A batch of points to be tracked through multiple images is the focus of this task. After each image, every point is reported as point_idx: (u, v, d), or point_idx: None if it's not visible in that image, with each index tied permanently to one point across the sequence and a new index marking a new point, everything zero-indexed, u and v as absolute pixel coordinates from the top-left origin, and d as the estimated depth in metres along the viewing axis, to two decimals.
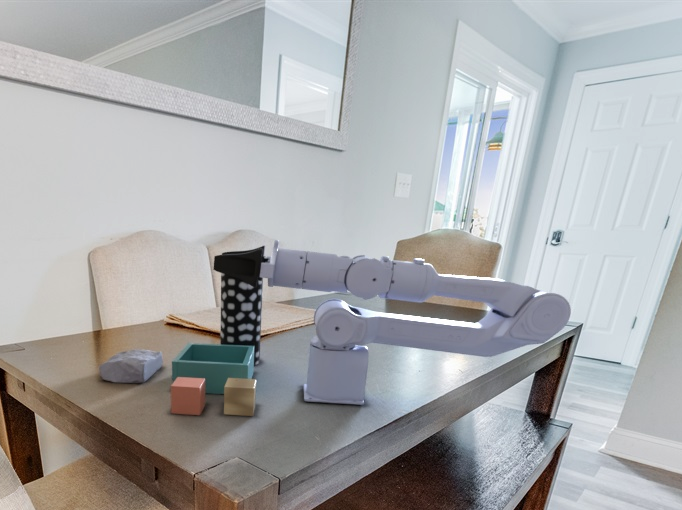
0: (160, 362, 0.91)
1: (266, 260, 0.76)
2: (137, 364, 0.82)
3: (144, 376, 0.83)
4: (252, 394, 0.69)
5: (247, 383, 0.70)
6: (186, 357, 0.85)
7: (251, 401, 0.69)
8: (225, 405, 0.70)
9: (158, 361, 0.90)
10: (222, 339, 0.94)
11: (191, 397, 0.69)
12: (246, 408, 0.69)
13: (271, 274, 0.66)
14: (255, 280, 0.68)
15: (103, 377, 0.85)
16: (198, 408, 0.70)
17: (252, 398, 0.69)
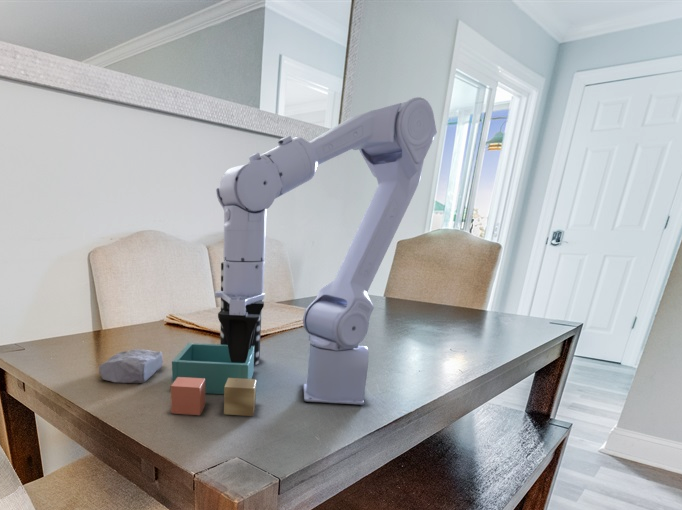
0: (160, 362, 0.91)
1: None
2: (137, 364, 0.82)
3: (144, 376, 0.83)
4: (252, 394, 0.69)
5: (247, 383, 0.70)
6: (186, 357, 0.85)
7: (251, 401, 0.69)
8: (225, 405, 0.70)
9: (158, 361, 0.90)
10: (222, 339, 0.94)
11: (191, 397, 0.69)
12: (246, 408, 0.69)
13: (240, 302, 0.59)
14: (250, 318, 0.61)
15: (103, 377, 0.85)
16: (198, 408, 0.70)
17: (252, 398, 0.69)
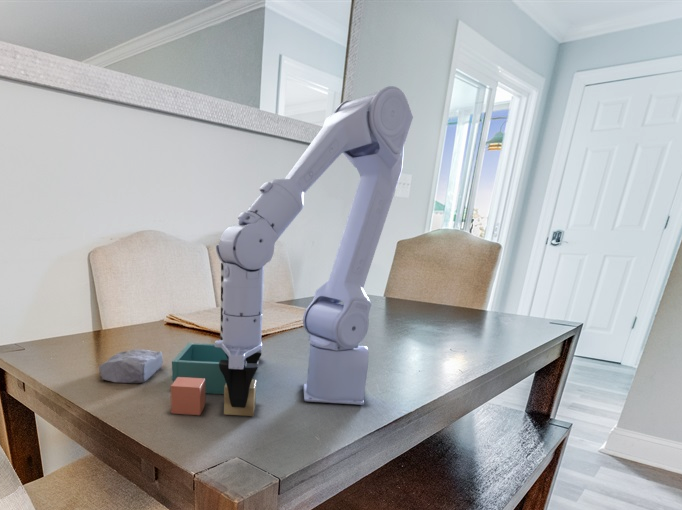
0: (160, 362, 0.91)
1: None
2: (137, 364, 0.82)
3: (144, 376, 0.83)
4: (252, 394, 0.68)
5: None
6: (186, 357, 0.85)
7: (251, 401, 0.69)
8: (225, 405, 0.70)
9: (158, 361, 0.90)
10: (222, 339, 0.94)
11: (191, 397, 0.69)
12: (246, 408, 0.69)
13: (239, 357, 0.62)
14: (249, 368, 0.64)
15: (103, 377, 0.85)
16: (198, 408, 0.70)
17: (252, 398, 0.69)
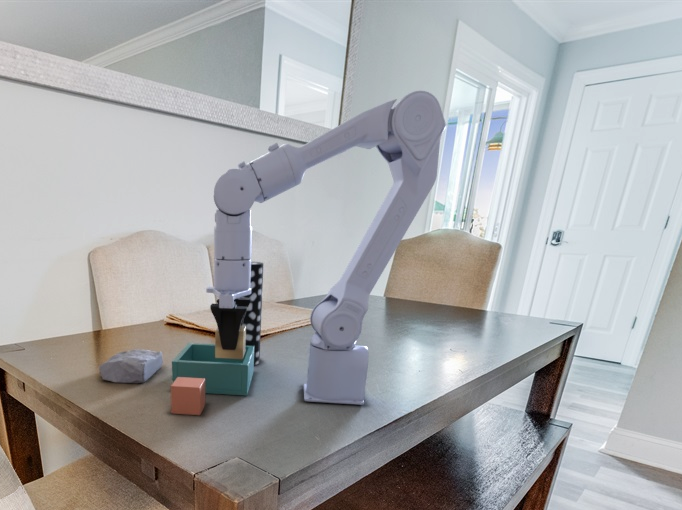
0: (160, 362, 0.91)
1: None
2: (137, 364, 0.82)
3: (144, 376, 0.83)
4: (242, 337, 0.72)
5: None
6: (186, 357, 0.85)
7: (241, 344, 0.73)
8: (216, 349, 0.74)
9: (158, 361, 0.90)
10: None
11: (191, 397, 0.69)
12: (236, 351, 0.73)
13: (228, 296, 0.66)
14: (238, 309, 0.68)
15: (103, 377, 0.85)
16: (198, 408, 0.70)
17: (242, 341, 0.73)
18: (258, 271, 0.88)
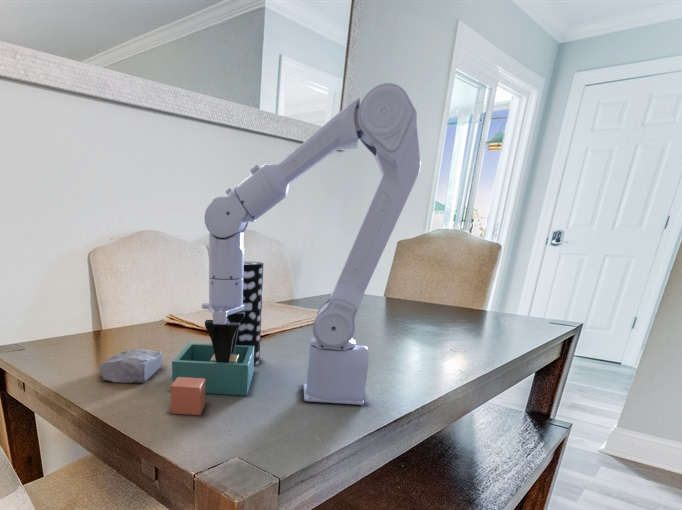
0: (160, 362, 0.91)
1: None
2: (137, 364, 0.82)
3: (144, 376, 0.83)
4: None
5: (230, 357, 0.81)
6: (186, 357, 0.85)
7: None
8: None
9: (158, 361, 0.90)
10: None
11: (191, 397, 0.69)
12: None
13: (221, 313, 0.71)
14: (231, 326, 0.73)
15: (103, 377, 0.85)
16: (198, 408, 0.70)
17: None
18: (258, 271, 0.88)
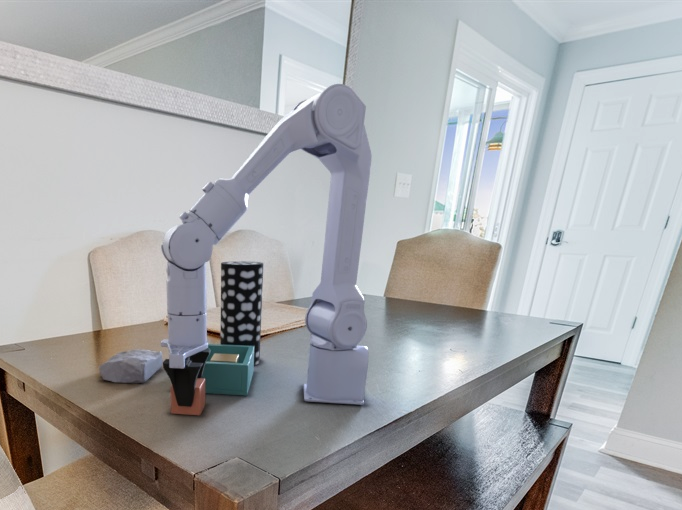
0: (160, 362, 0.91)
1: None
2: (137, 364, 0.82)
3: (144, 376, 0.83)
4: None
5: (230, 357, 0.81)
6: None
7: None
8: None
9: (158, 361, 0.90)
10: (222, 339, 0.94)
11: None
12: None
13: (179, 356, 0.62)
14: (191, 368, 0.65)
15: (103, 377, 0.85)
16: (198, 408, 0.70)
17: None
18: (258, 271, 0.88)
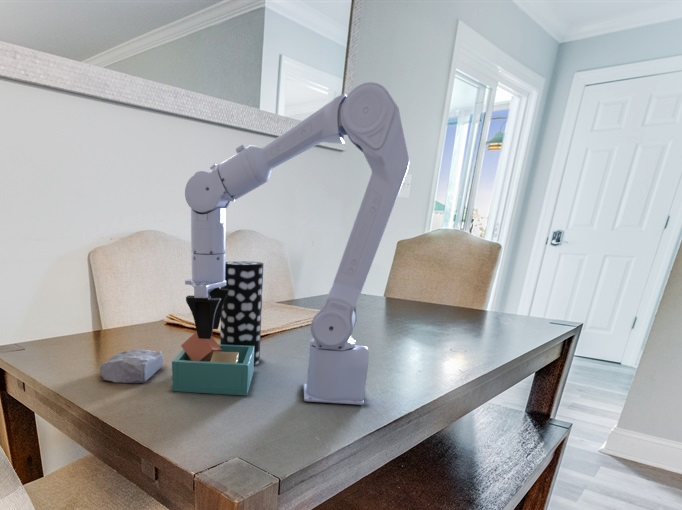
0: (160, 362, 0.91)
1: None
2: (138, 364, 0.82)
3: (145, 376, 0.83)
4: None
5: (230, 358, 0.79)
6: (186, 357, 0.85)
7: None
8: None
9: (158, 361, 0.90)
10: (222, 339, 0.94)
11: (198, 341, 0.82)
12: None
13: (202, 287, 0.72)
14: (211, 301, 0.74)
15: (104, 377, 0.85)
16: (208, 345, 0.81)
17: None
18: (258, 271, 0.88)
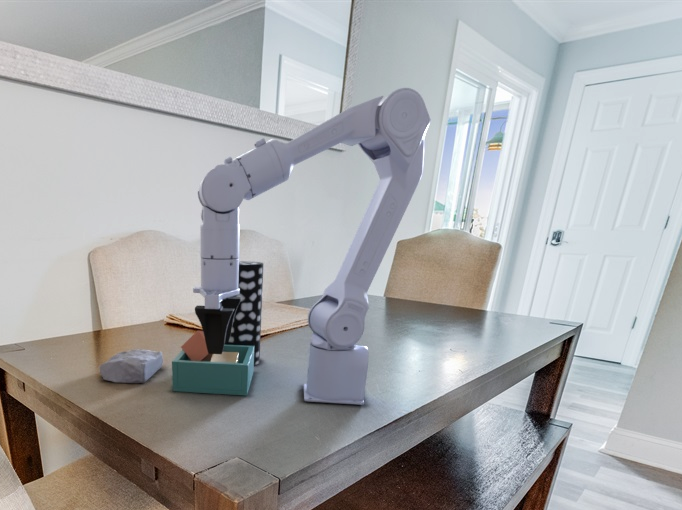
0: (160, 362, 0.91)
1: None
2: (138, 364, 0.82)
3: (145, 376, 0.83)
4: None
5: (230, 358, 0.79)
6: (186, 357, 0.85)
7: None
8: None
9: (158, 361, 0.90)
10: None
11: (198, 342, 0.82)
12: None
13: (214, 297, 0.63)
14: (224, 312, 0.65)
15: (104, 377, 0.85)
16: None
17: None
18: (258, 271, 0.88)
